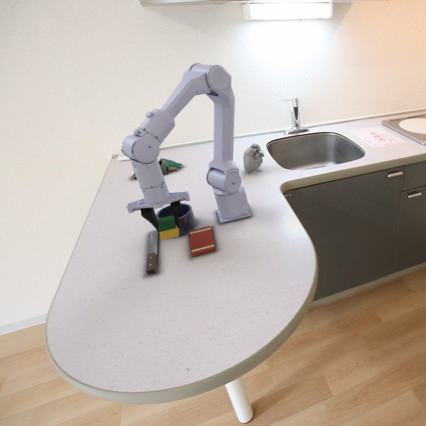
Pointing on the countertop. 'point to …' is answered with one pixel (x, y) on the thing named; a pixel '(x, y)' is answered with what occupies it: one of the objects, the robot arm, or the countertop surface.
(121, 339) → the countertop surface
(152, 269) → the knife
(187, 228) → the pot
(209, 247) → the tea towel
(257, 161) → the heart
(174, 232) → the sponge
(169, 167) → the green clog
